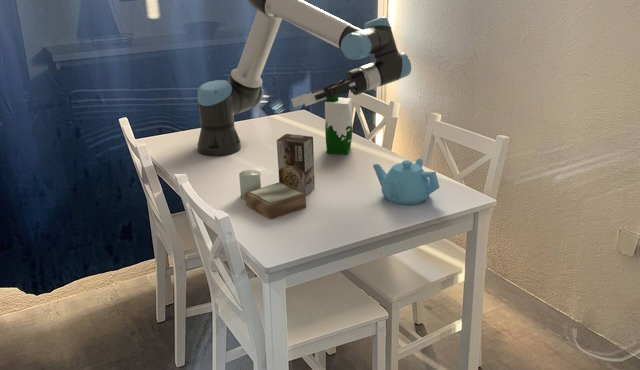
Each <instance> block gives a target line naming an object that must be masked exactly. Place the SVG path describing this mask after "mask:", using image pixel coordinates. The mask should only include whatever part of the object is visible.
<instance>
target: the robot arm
mask: <svg viewBox="0 0 640 370" xmlns="http://www.w3.org/2000/svg"><path fill="white" fill-rule="evenodd" d="M247 1H248V3H249V4H250V6H251V7H252V8H254V9H256V14H255V16H254V20H253V23H252V25H251V28H250V31H249V34H248V37H247V39H246V42H245V45H244V48H243V51H242V53H241V57H240V60H239V62H238V65H237V67H236V68H234V69H232V70H231V72H230V74H229V78H228V80H224V79H216V80H213V81H212V80H211V81H207V82H204V83H203V84H200V85H199V87H198V89H197V99H196V100H197V103H198V105H197V106H198V112H199V113H198V114H199V123H200V124H199V125H200V133H199V137H198V141H197V152H198V153H199V154H201V155H204V156H211V157H212V156H213V157H215V156H216V157H218V156H219V157H221V156H226V155H231V154H235V153H237V152H239V151H240V150H241V148H242V145H241V144H242V143H241V139H240V137H239V135H238V132H237V130H236V128H235V119H234V118H235V117H234V116H236V115H238V114H241V113H243V112H246V111H251V110H252V109H254V108H255V107H257V106H258V105H259V104H260V103H261V101H263V97H264V92H265V91H264V89H263V79H262V78H261V75H262V73H263V71H264V68H265V65H266V63H267V60H268V57H269V55H270V52H271V50H272V46H273V44H274V41H275V38H276V37H277V34H278V30H279V28H280V25H281V23H282V21H286V22H287V23H289V24H292V25H294V26H296V27H297V28H299V29H301V30H303V31H305V32H307V33H309V34H311V35H312V36H314V37H317V38H319V39H321V40H322V41H324V42H326V43H328V44H331V45H333V46H334V47H336V48H339V49H340V50H341V52H342V54H343V55H344V56H345V57H346V59H349V60H352V61H355V60H362V59H365V58H367V57H369V56H371V55H372V56H373V58H374V62H370V63H368V64H364V65H362V66H359V68H354V69H351V70H348V71H347V72H346V75H345V79H341V80H337V81H336V82H333V83H331V84H329V85H328V86H324V87H322V88H319V89H317V90H311V91H310V92H307V93H304V94H301V95H299V96H296V97H293V98H291V99H290V100H291V103H292V106H293V108H297V107H299V106H302V105H304V106H305V107H307V106H310V105H314V104H316V103H319V102H322V101H324V100H325V101H326V99H327V98H330V97H334V96H336V95H338V96H339V95H342V94H346V93H349V91H350V92H351V94H352V95H354V96H358V95H361V94H364V93H366V91H368V92H369V91H371V90H373V91H376V90H377V88H380V87H382V86H386V85H387V84H391V83H393V82H397V81H399V80H402V79H403V78H405V77H408V76H409V75H410V74H411V71H412V63H411V60H410V58H409V56H408V54H406V53H405V52H399V51H398V47H397V43H396V41H395V37H394V34H393V30H392V27H391V25H390V23H389V19H388V17H386V16H381V17H379V18H375V19H372V20H369V21H367V22H365V23H364V29H361V28H360V27H357V26H354V25H352V23H349V22H347V21H345V20H343V19H341V18H339V17H337V16H335V15H333V14H330V13H329V12H326V11H324V10H323V9H320V8H319V7H317V6H314V5H313V4H310V3H308V2H307V1H305V0H247ZM326 97H327V98H326Z"/></svg>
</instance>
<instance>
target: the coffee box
mask: <svg viewBox="0 0 640 370" xmlns="http://www.w3.org/2000/svg"><path fill="white" fill-rule="evenodd" d="M276 150H277V154H276V155H277V167H278V182H281V183H283V184H285V185H288V186H290V187H292V188H294V189H296V190H298V191H300V192H302V193H304V194H306V196H307V195H308V194H309V193H310V192H312V191H313V190H314V189H315V161H314V159H315V158H314V155H315V153H314V137H313V136H308V135H301V134H294V133H293V134H291V133H286V134H285V133H284V134H283V135H282V136H280V138H278V139H277V140H276Z"/></svg>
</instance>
